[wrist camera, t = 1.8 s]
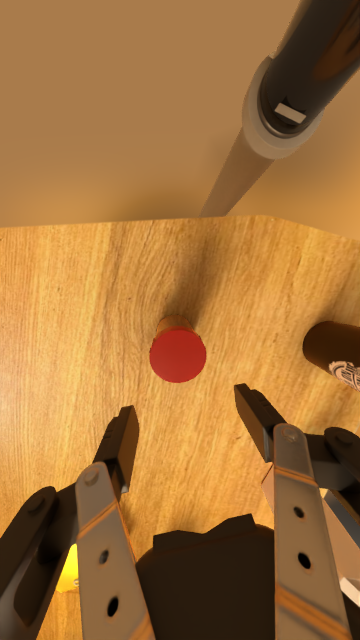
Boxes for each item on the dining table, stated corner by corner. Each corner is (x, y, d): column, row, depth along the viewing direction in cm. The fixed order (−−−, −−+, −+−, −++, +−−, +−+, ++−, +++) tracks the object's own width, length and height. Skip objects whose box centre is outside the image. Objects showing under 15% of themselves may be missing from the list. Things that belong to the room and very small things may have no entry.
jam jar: (163, 309, 28) (161, 323, 19) (197, 321, 29) (211, 340, 20) (152, 342, 29) (144, 370, 20) (184, 352, 30) (192, 384, 21)
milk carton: (259, 485, 38) (346, 674, 20) (274, 461, 37) (381, 639, 19) (286, 491, 39) (391, 676, 21) (301, 468, 38) (427, 642, 20)
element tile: (71, 561, 39) (58, 599, 35) (35, 520, 36) (15, 556, 31) (131, 539, 39) (126, 573, 34) (100, 495, 36) (91, 527, 31)
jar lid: (160, 318, 20) (160, 321, 18) (211, 335, 21) (215, 340, 19) (143, 366, 21) (141, 374, 19) (192, 380, 22) (194, 389, 20)
